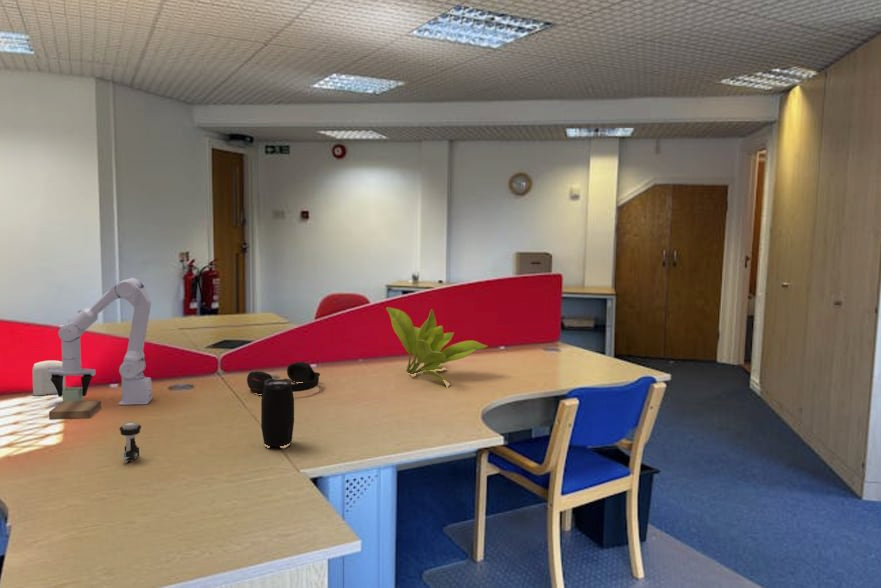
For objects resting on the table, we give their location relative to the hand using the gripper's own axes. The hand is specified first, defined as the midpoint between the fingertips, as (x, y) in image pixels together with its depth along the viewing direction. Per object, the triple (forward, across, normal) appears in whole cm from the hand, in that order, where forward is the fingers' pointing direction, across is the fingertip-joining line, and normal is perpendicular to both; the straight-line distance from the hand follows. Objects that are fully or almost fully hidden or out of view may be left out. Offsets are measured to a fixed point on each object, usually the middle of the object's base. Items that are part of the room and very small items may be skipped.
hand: (72, 395), depth 228 cm
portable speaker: (+2, -72, +52) cm, 89 cm away
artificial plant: (+2, -132, -25) cm, 135 cm away
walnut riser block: (+3, -5, +13) cm, 14 cm away
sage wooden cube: (+3, 0, 0) cm, 3 cm away
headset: (+3, -72, -13) cm, 73 cm away
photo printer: (+3, +12, -13) cm, 18 cm away
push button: (+3, -33, +59) cm, 68 cm away
